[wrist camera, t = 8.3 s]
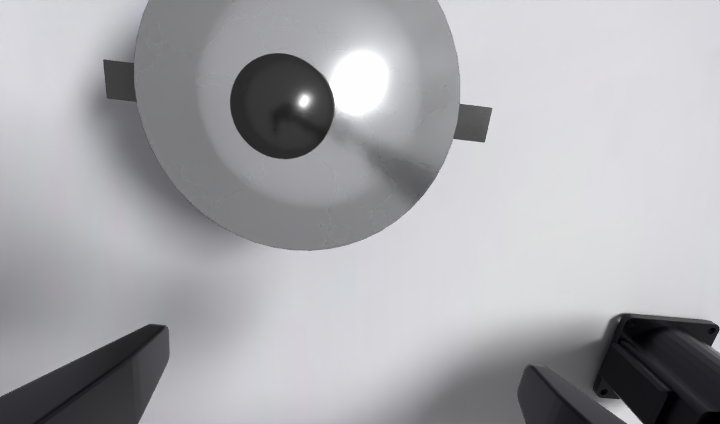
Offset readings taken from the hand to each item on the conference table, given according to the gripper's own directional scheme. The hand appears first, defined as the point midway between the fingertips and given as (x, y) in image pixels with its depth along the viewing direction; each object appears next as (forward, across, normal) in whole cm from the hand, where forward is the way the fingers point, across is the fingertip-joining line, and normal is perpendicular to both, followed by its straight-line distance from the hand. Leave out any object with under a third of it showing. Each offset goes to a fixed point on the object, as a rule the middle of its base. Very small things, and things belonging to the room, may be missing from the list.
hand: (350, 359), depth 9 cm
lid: (+8, +3, -6) cm, 10 cm away
